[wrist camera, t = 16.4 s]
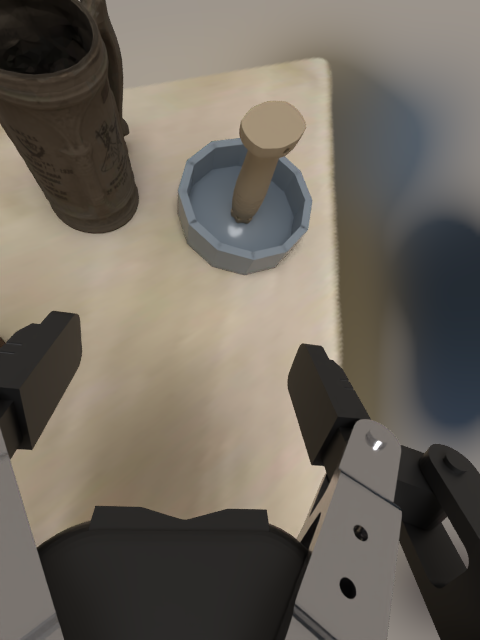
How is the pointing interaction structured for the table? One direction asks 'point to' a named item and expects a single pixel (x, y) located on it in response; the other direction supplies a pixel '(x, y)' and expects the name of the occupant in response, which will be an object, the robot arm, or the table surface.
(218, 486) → the table surface
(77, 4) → the beer stein
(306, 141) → the table surface
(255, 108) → the handle
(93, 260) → the table surface
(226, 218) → the bowl
